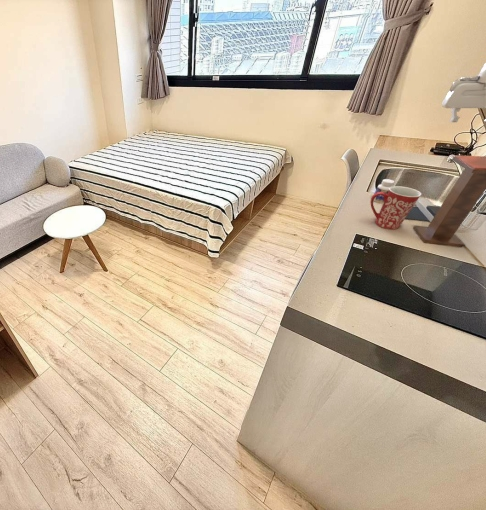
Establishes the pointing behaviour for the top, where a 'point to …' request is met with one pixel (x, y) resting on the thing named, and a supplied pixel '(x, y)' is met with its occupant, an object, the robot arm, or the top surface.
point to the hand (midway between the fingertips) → (470, 122)
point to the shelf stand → (456, 203)
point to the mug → (395, 206)
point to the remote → (427, 208)
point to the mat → (416, 215)
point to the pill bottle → (383, 189)
